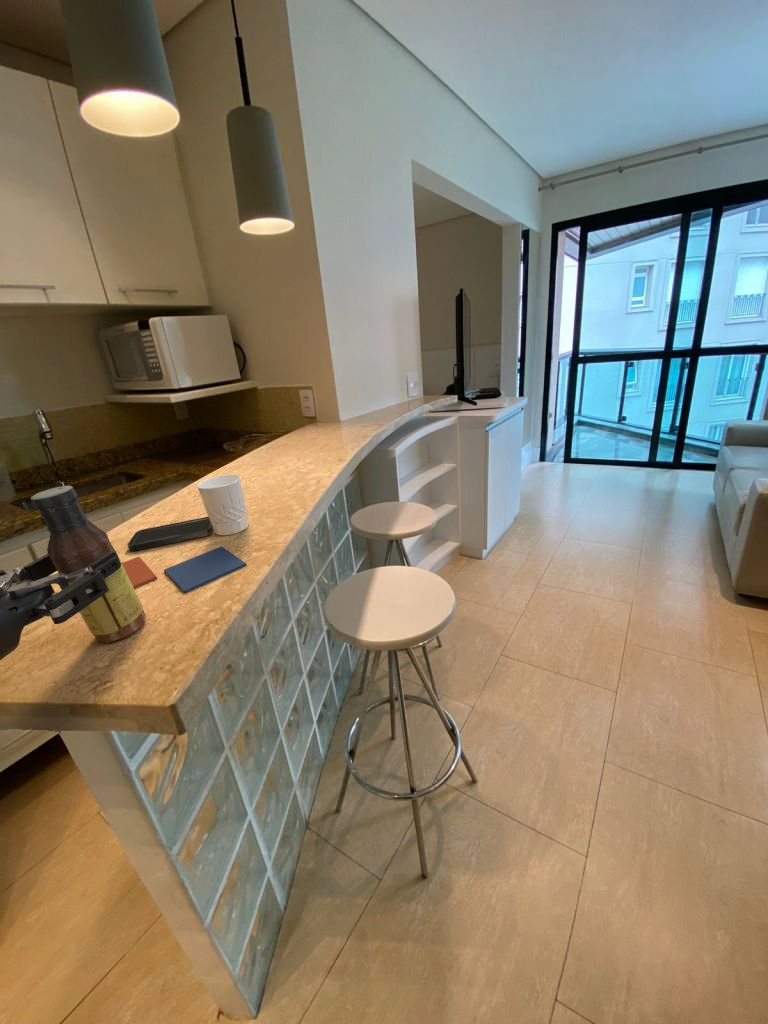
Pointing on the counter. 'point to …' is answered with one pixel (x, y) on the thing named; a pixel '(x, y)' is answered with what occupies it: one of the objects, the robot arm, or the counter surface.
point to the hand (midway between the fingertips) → (86, 558)
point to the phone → (170, 533)
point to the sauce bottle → (77, 549)
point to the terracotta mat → (138, 572)
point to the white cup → (224, 503)
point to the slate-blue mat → (204, 568)
